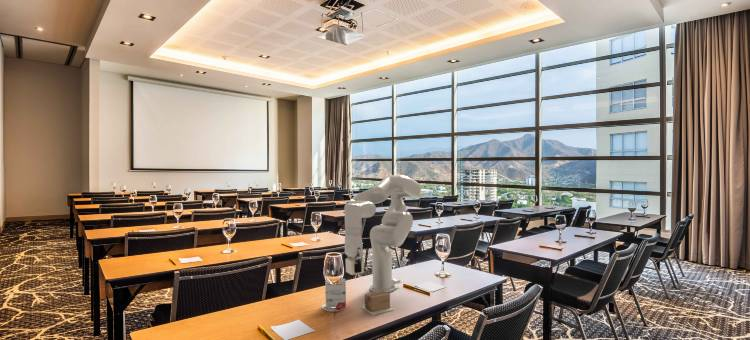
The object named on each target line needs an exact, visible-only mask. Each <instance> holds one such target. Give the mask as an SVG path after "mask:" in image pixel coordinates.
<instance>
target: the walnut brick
mask: <svg viewBox="0 0 750 340" xmlns="http://www.w3.org/2000/svg"><path fill="white" fill-rule="evenodd" d="M364 306H365V308H366V309H367V310H369V311H371V312H375V311H379V310H383V309H388V308H391V295H390V292H388V293H387V292H385V291H383V290H381V291H376V292H372V291H371V292H368V293H364Z"/></svg>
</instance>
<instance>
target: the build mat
mask: <svg viewBox="0 0 750 340" xmlns="http://www.w3.org/2000/svg"><path fill="white" fill-rule="evenodd" d="M361 308H362V309H363V311H366V312H367V313H369V314H370V315H372V316H375V315H379V314H383V313H388V312H393V311H394V308H391V307H390V308H388V309H383V310H379V311H375V312H371V311H369V310H367V309H366V308H365V305H364V306H363V305H362V306H361Z"/></svg>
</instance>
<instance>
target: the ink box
mask: <svg viewBox="0 0 750 340" xmlns="http://www.w3.org/2000/svg"><path fill="white" fill-rule="evenodd" d="M341 279H342V280H341V281H339V282H338V283H337V284H336V285H332V284H330V282H329V281H327V279H326V280H325V282H324V283H325V285H324V286H325V287H324V288H325V309H326V308H328V309H332V308H331V307H336V308H335V309H346V307H347V292H346V291H347V288H346V284H347V283H346V278H341ZM328 282H329V283H328Z"/></svg>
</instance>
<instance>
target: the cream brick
mask: <svg viewBox="0 0 750 340" xmlns="http://www.w3.org/2000/svg"><path fill="white" fill-rule="evenodd" d="M356 259H359V258H356ZM354 264H355V260H354V258H348V257H346V258H345V273H347V274H349V275H350V276H353V275H358V274H363V273H365V271H364V267H365V266H364V258H363V259H362V263H361V269H362V272H359V273H355V270H354Z"/></svg>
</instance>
